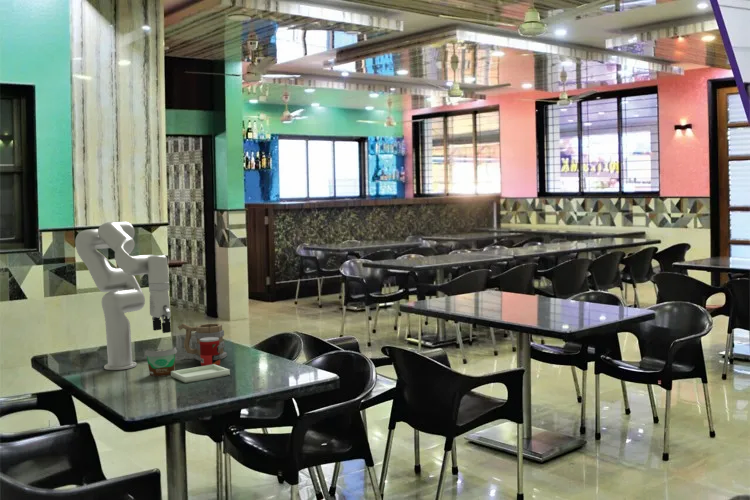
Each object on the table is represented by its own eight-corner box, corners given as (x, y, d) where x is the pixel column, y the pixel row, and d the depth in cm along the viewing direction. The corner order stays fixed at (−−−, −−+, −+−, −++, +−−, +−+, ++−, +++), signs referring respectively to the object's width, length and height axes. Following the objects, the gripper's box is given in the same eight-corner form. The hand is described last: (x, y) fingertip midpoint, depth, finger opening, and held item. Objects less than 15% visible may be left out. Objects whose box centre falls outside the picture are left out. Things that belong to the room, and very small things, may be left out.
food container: (149, 378, 297) (147, 352, 296) (145, 375, 302) (144, 350, 302) (181, 374, 303) (180, 348, 302) (177, 371, 308) (176, 346, 307)
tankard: (230, 354, 338) (228, 320, 337) (219, 360, 325) (217, 325, 324) (186, 354, 341) (184, 320, 340) (174, 360, 329) (172, 325, 328)
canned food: (216, 367, 313) (214, 340, 312) (197, 367, 314) (196, 340, 314) (223, 363, 320) (222, 336, 319) (205, 363, 322) (204, 336, 321)
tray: (171, 376, 299) (170, 371, 299) (214, 369, 310) (214, 364, 310) (185, 382, 288) (185, 377, 288) (229, 374, 298) (229, 369, 298)
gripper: (141, 287, 305) (144, 330, 306) (157, 289, 291) (160, 335, 292) (160, 285, 309) (163, 327, 310) (177, 287, 295) (179, 332, 296)
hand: (162, 331), depth 301 cm, fingers open, 9 cm apart
